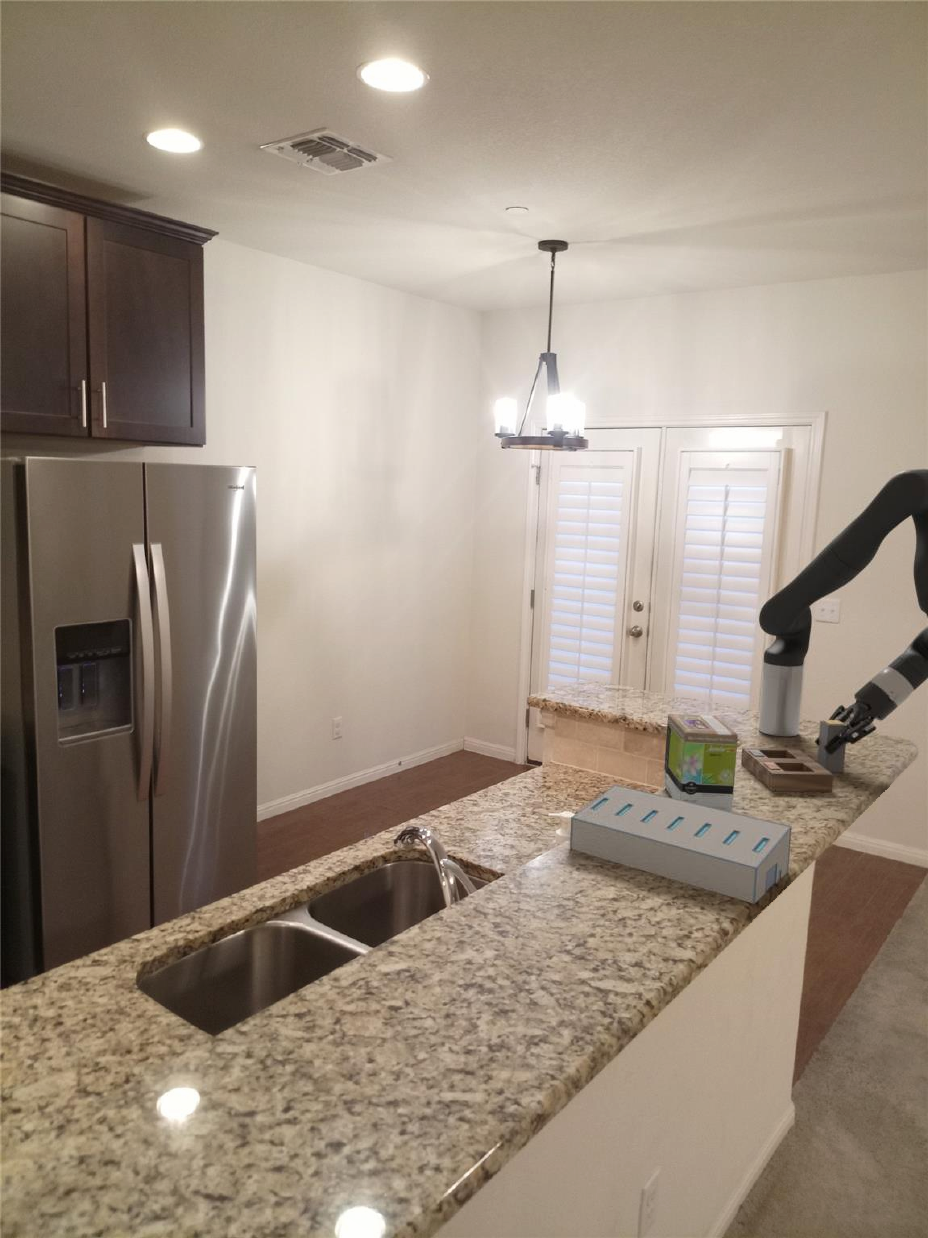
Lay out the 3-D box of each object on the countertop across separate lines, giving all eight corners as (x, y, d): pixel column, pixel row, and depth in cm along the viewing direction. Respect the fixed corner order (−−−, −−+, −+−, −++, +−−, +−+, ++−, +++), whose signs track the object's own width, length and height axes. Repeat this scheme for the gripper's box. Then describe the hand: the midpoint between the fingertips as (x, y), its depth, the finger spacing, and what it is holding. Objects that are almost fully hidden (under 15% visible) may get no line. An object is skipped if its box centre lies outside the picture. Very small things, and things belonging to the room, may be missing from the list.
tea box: (734, 813, 161) (739, 733, 159) (678, 811, 162) (683, 732, 160) (712, 786, 176) (717, 713, 174) (661, 785, 176) (665, 712, 174)
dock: (741, 763, 192) (742, 746, 192) (796, 764, 192) (797, 747, 192) (771, 791, 174) (772, 772, 174) (832, 792, 174) (833, 773, 174)
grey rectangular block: (816, 766, 191) (820, 719, 190) (835, 766, 191) (839, 719, 190) (824, 772, 187) (828, 724, 186) (843, 772, 187) (847, 724, 186)
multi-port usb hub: (569, 851, 143) (571, 806, 142) (613, 826, 154) (615, 784, 153) (754, 906, 125) (757, 855, 124) (788, 874, 136) (791, 826, 135)
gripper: (857, 673, 194) (797, 727, 195) (889, 687, 180) (824, 745, 181) (879, 698, 195) (819, 751, 196) (912, 714, 181) (848, 771, 182)
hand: (822, 748), depth 189 cm, fingers closed on grey rectangular block, 4 cm apart
